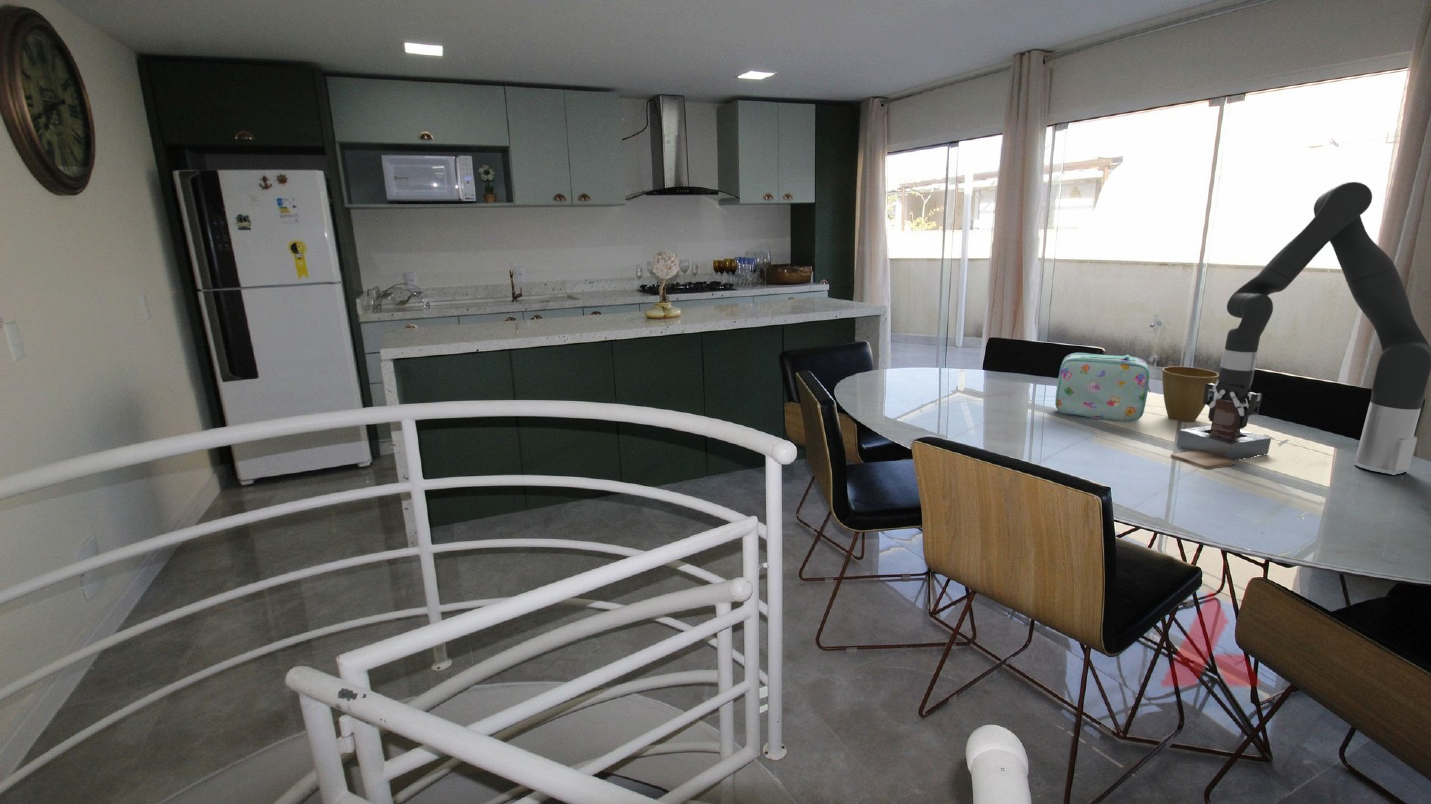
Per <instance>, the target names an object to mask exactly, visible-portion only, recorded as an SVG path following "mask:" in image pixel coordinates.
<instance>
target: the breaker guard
mask: <svg viewBox="0 0 1431 804" xmlns="http://www.w3.org/2000/svg"><path fill="white" fill-rule="evenodd" d="M1211 425H1212V424H1208V425H1202V426H1196V427H1188V428H1182V429H1179V430H1178V436H1177V443H1176V447H1177V448H1181V449H1184V450H1187V451H1194V450H1199V451H1202V452H1205V453H1209V454H1212V455H1215V456H1218V457H1221V458H1225V459H1228V460H1231V461H1234V462H1235V461H1240V460H1239V459H1241V460H1244V459H1243V458H1247V459H1252V458H1251V457H1253V458H1255V457H1254V456H1257V455H1264V454H1267V453H1268V454H1269V449H1270V446H1271V440H1272V437H1271V436H1267V435H1262V434H1259V433H1256V432H1255V433H1254V432H1252V431H1248V430H1243V429H1240V433H1239V438H1235V439H1226V438H1222V437H1219V436H1215V435H1212V434H1210V430H1211Z"/></svg>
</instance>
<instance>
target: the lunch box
mask: <svg viewBox="0 0 1431 804" xmlns="http://www.w3.org/2000/svg"><path fill="white" fill-rule="evenodd" d="M1149 368H1150V366H1149V364H1148V363H1147V361H1145V360H1144V359H1142V358H1140V357H1137V356H1131V355H1130V354H1126V355H1113V354H1110V355H1109V354H1097V353H1088V352H1074V353H1070V354H1067V355H1065V357H1064V358H1063V359H1062V363H1061V365H1060V368H1059V374H1058V377H1057V385H1056V392H1055V403H1054V404H1055V408H1056V409H1057V410H1058V411H1059V412H1060V413H1062V414H1066V415H1073V416H1075V415H1076V416H1081V417H1082V416H1083V417H1087V418H1093V419H1097V420H1108V421H1109V420H1110V421H1118V422H1119V421H1120V422H1135V421H1136V422H1137V421H1139V420H1140V419H1141V418H1142V417H1143V415H1144V412H1145V409H1146V408H1145V407H1146V405H1147V398H1148V393H1151V388H1150V385H1149V384H1150V369H1149Z"/></svg>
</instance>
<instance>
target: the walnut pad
mask: <svg viewBox="0 0 1431 804" xmlns="http://www.w3.org/2000/svg"><path fill="white" fill-rule="evenodd" d="M1170 458H1172V459H1176V460H1179V461H1181V462H1184V463H1187V464H1190V465H1194V466H1197V467H1199V468H1202V469H1204V470H1211V469H1214V468H1215V467H1216V468H1221V467H1226V465H1228V466H1232V465H1231V464H1234V465H1235V461H1231V460H1228V459H1225V458H1221V457H1218V456H1215V455H1212V454H1209V453H1205V452H1202V451H1199V450H1194V451H1190V450H1187V451H1182V452H1176V453H1170ZM1216 468H1215V469H1216Z"/></svg>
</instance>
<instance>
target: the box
mask: <svg viewBox="0 0 1431 804" xmlns="http://www.w3.org/2000/svg"><path fill="white" fill-rule="evenodd" d="M1240 403H1241V404H1244V402H1243V401H1242V402H1240ZM1239 415H1240V414H1239V411H1238V409H1237V408H1236V407H1235V404H1234V402H1233V401H1230V400H1225V399H1216V402H1215V408H1214V414H1213V419H1212V421H1211V424H1210V425H1211V430H1210V434H1212V435H1215V436H1219V437H1222V438H1226V439H1235V438H1239V433H1240V429H1238V428H1236V426H1237V421H1238V416H1239Z"/></svg>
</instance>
